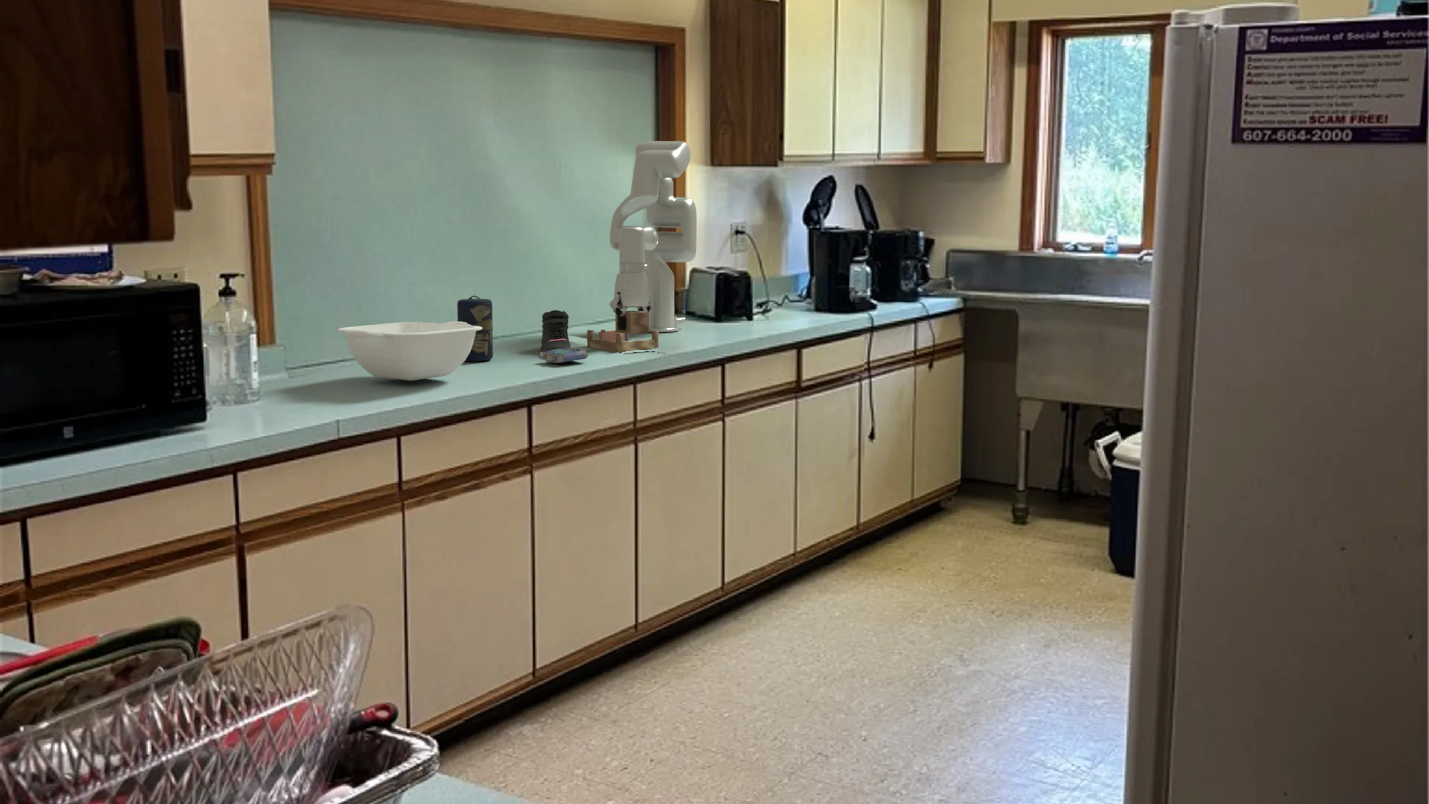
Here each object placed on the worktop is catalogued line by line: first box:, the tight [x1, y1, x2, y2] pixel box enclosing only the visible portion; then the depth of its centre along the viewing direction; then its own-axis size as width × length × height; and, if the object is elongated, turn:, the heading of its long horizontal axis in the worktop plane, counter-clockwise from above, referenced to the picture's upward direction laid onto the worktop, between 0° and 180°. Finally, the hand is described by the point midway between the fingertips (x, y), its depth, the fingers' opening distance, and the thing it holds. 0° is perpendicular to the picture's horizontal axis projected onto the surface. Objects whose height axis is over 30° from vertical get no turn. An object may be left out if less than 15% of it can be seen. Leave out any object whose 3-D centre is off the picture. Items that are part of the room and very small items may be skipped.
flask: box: [541, 347, 589, 364], centre depth 374 cm, size 9×3×11 cm
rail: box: [598, 329, 630, 341], centre depth 410 cm, size 12×2×6 cm, turn 143°
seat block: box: [614, 310, 650, 335], centre depth 406 cm, size 7×7×6 cm
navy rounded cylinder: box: [456, 294, 494, 363], centre depth 376 cm, size 10×10×18 cm
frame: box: [586, 329, 660, 354], centre depth 405 cm, size 16×16×6 cm
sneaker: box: [539, 309, 572, 358], centre depth 391 cm, size 10×26×13 cm, turn 13°
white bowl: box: [337, 320, 482, 381], centre depth 342 cm, size 34×28×13 cm
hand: (632, 328), depth 407 cm, fingers closed on seat block, 7 cm apart
